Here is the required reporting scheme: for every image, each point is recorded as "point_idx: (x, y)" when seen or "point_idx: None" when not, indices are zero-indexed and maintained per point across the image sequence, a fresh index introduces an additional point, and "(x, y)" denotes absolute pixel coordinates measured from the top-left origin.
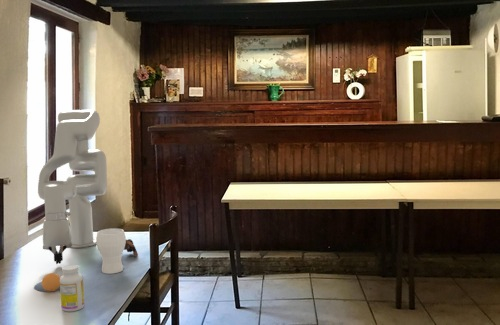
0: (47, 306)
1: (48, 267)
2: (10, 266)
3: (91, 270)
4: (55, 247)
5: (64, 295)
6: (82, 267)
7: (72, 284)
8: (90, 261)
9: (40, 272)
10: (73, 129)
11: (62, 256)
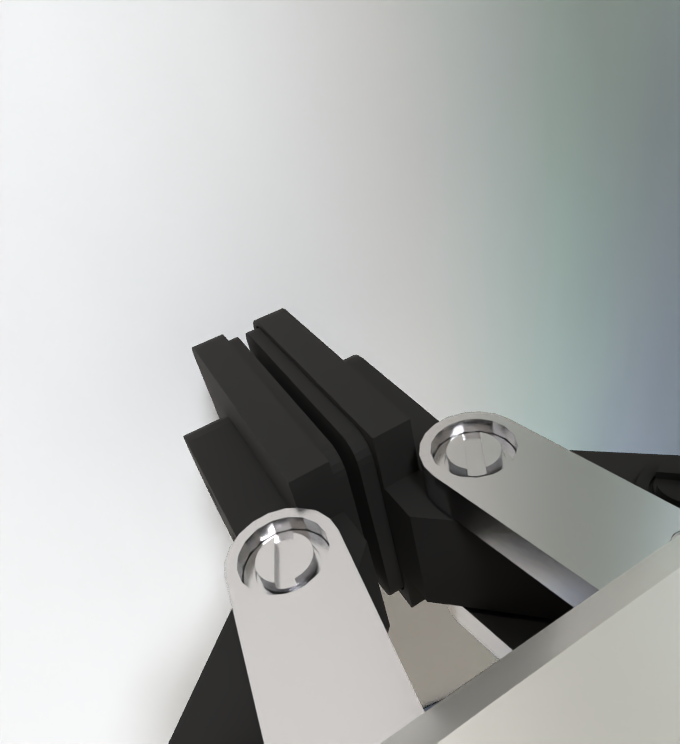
0: None
1: (31, 440)
2: None
3: (645, 440)
4: (387, 672)
5: None
6: (571, 357)
7: None
8: (672, 38)
9: (47, 682)
10: None
11: (390, 386)
